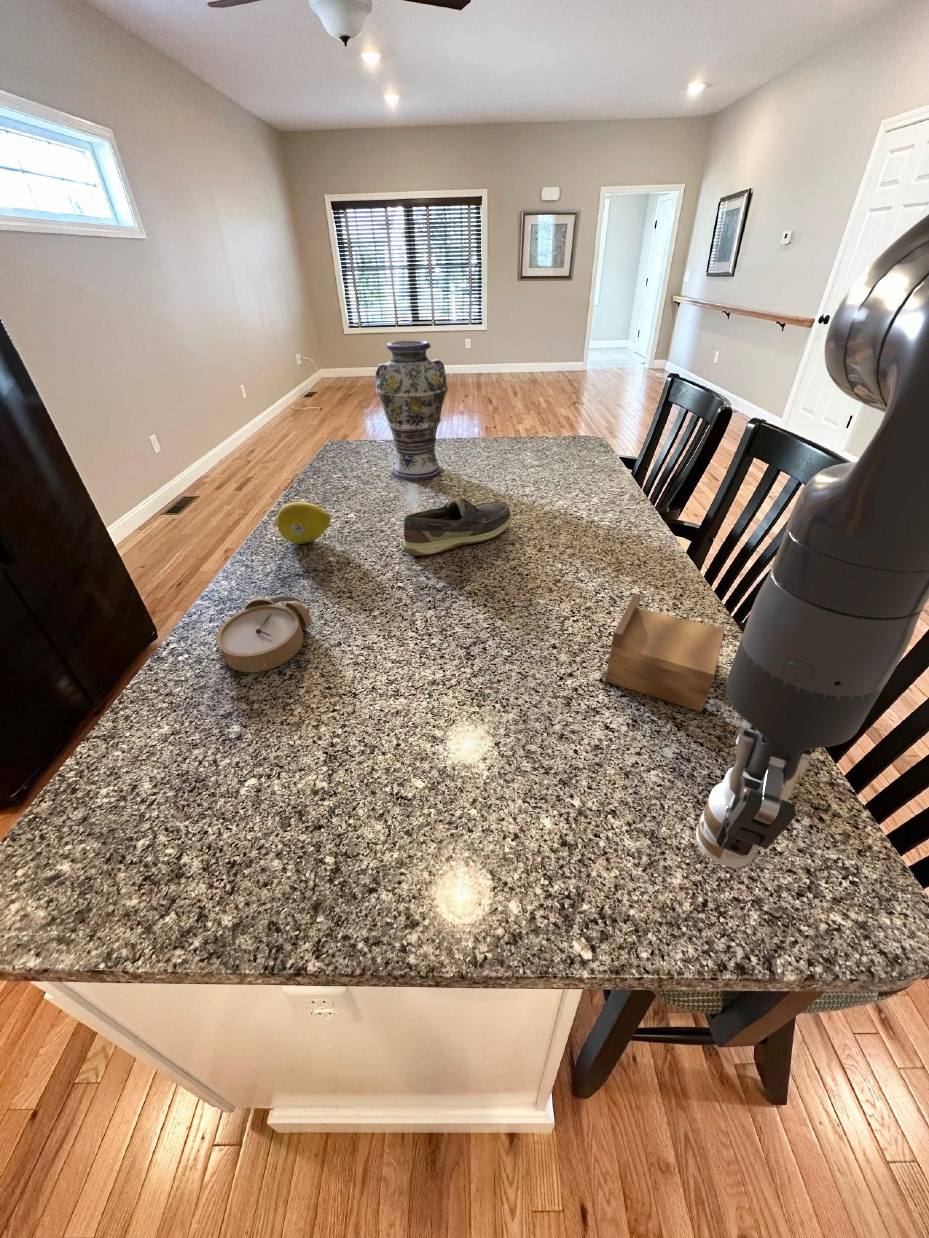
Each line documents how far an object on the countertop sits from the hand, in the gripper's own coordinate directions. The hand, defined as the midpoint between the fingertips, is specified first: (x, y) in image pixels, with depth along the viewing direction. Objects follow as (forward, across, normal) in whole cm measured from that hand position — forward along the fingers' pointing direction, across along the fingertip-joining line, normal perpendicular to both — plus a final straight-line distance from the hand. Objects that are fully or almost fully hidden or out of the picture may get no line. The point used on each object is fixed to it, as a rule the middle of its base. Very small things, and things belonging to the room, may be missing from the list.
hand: (735, 819), depth 40 cm
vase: (+9, +79, +81) cm, 114 cm away
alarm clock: (+9, +8, +61) cm, 63 cm away
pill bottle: (+4, 0, 0) cm, 4 cm away
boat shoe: (+9, +50, +52) cm, 73 cm away
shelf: (+10, +27, +9) cm, 30 cm away
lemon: (+9, +35, +79) cm, 87 cm away
